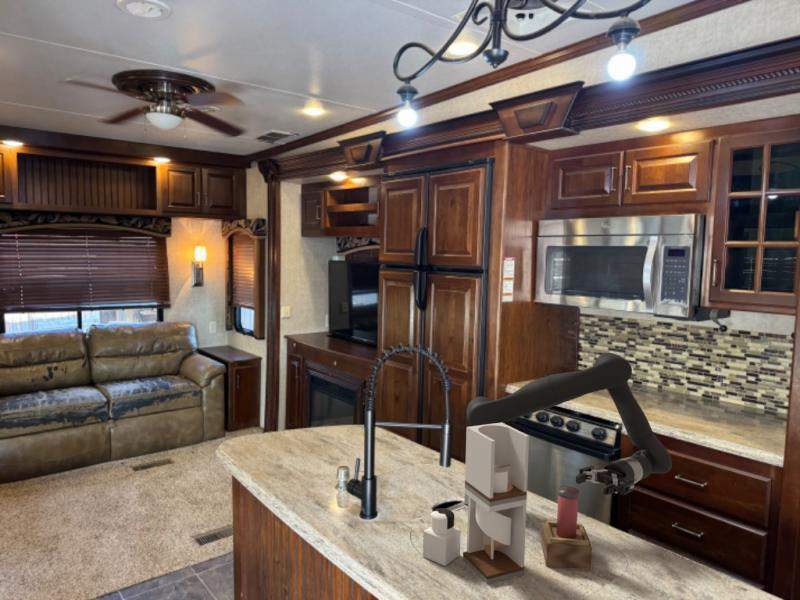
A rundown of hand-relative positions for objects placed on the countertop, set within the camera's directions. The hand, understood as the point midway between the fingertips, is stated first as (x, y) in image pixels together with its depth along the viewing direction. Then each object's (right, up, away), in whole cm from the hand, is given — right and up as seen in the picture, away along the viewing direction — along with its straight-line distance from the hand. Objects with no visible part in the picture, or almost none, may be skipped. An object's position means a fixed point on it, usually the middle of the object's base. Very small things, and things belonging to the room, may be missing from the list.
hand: (590, 485), depth 151 cm
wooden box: (-9, -16, -6) cm, 20 cm away
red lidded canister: (-9, -10, -7) cm, 15 cm away
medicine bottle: (-41, -16, -7) cm, 45 cm away
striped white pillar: (-29, -17, -12) cm, 35 cm away
